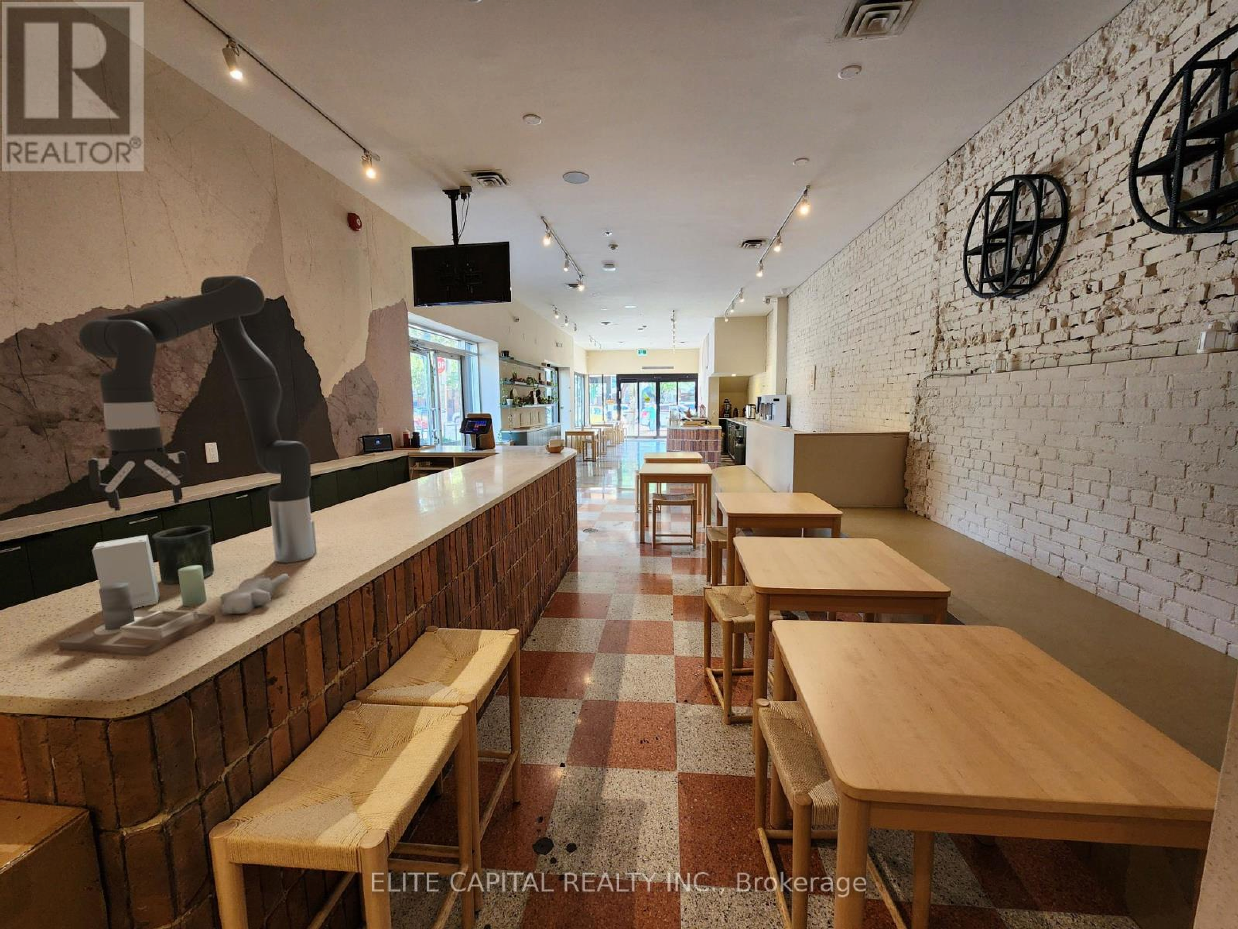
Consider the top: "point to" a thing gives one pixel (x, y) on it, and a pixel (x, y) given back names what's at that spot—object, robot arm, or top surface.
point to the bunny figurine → (250, 594)
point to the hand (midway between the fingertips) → (148, 506)
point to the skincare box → (128, 568)
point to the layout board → (134, 626)
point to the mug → (183, 551)
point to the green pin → (192, 585)
